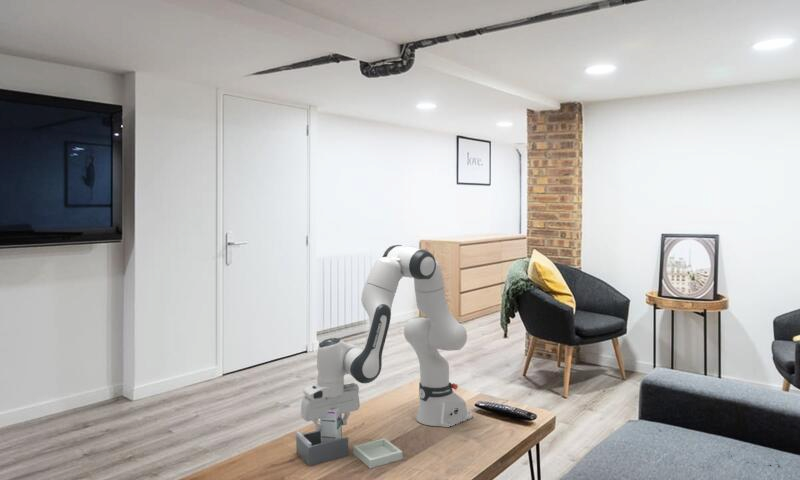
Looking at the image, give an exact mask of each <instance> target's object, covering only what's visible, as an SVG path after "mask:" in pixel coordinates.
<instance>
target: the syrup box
mask: <svg viewBox="0 0 800 480" xmlns="http://www.w3.org/2000/svg"><path fill="white" fill-rule="evenodd" d="M342 415H343V414H339V408H332V409H328V416H327V417H324V418H320V419H319V421H320V423H319V424H320V425H321V426H322V428H321V429H322V430H321V443H324V442H329V441H333V440H337V439H341V438H343V425H342V419H343V417H342Z"/></svg>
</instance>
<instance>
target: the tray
mask: <svg viewBox="0 0 800 480" xmlns="http://www.w3.org/2000/svg"><path fill="white" fill-rule="evenodd" d="M352 447H353V448H352V454H353V455H354V456H356V457H357V459H358V460H360V461H361V462H362V463H364V464H365V465H366V466H367V467H368V468H369V469H373V468H377V467H380V466H384V465H387V464H391V463H395V462H398V461H402V460H403V451H402V450H401V449H400V448H398V447H397V446H396V445H394V444H393V443H391V442H390V441H389V440H388V439H386V438H380V439H376V440H372V441H368V442H364V443H360V444H356V445H353V446H352Z"/></svg>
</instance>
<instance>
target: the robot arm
mask: <svg viewBox="0 0 800 480" xmlns="http://www.w3.org/2000/svg"><path fill="white" fill-rule="evenodd" d="M442 272H443V271H442V269H441V266H440V263H439V261H438V260H437V259H435V256H434V254H433V253H431V252H429V251H428V250H426V249H423V248H422V249H421V248H418V247H415V246H407V245H402V244H397V245H391V246H389V247H388V248H387V249H386V250H385V251H384V252H383V255H382V256H381V257H380V258H379V257H378V259H377V260H376V261H375V262H374V264H373V266H372V268H371V269H370V272H369V274H368V276H367V279H366V281H365V283H364V286H363V287H362V288H363V289H362V292H361V301H360V302H361V304H362V306H363V308H364V310H365V312H366V313H367V315H368V318H369V328H368V331H367V335H366V339H365V342H364V346H363V347H362V346H359V345H357V344H352V343H348V342H345V341H344V340H342V339H340V338H338V337H331V338H327V339H324V340H323V341H321V342H320V343H319V344H318V347H317V351H316V353H317V354H316V368H317V372H318V373H317V378H316V379H317V380H316V381H315V382H313V383H312V384H310V385H308V386H306V387H304V388H303V389H302V391H303V395H304V396H303V398H302V399H301V407H300V415H301V418H302V419H303V421H305V422H310V421H312V423H313V424H314V425H315V426H314V427H315V429H314V430H315V431H317V432H318V431H321V430H322V429H321V428H322V426H321V425H320V423H319V420H320V418H324V417H327V416H328V409H332V408H339V414H341V415H343V414H344V415H343V417H342V426H347V425H348V419H349V417H350V415H351V412H355V411H358V410H359V409H360V405H361V404H360V402H361V401H360V396H359V393H360V387H359V385H358V384H357V383H355V382H352V383H345V375H349V376H351V377H352V378H354V379H355V380H356V381H357V382H358V383H361V384H370V383H372V382H373V381H375V380H377V378H378V377H379V375H380V374H381V372H382V371H381V370H382V364H383V363H382V360H383V359H382V358H383V357H382V356H383V350H384V346H385V343H386V339H387V336H388V331H389V329H390V325H391V324H390V323H391V318H392V306H393V302H394V298H395V296H396V293H397V290H398V287H399V283H400V281H401V279H403V277H404V278H409V279H410V278H411V279H413V282H414V283H413V284H414V285H413V286H414V294H415V301H416V307H417V309H418V311H419V312H421V314H423V315H424V316H426V318H425V317H415V318H414V317H413V318H410V319H408V321H407V322H406V323H405V325H404V329H403V335H404V339H405V340H406V342H407V343H408V344H409V345H410V346H411V347H412V348H413V350H414V351H415V353H416V356H417V359H418V362H419V372H420V373H419V374H420V375H419V378H420V379H419V383H418V384H419V388H418V392H419V402H418V403H419V404H418V409H417V413H416V416H415V419H416V421H417V422H419V423H420V424H422V425H426V426H431V427H442V428H450V426H451V427H452V426H455V424H456V425H459V424H460V422H461V423H463V422H465V421H468V420H470V419H473V418H472V417H474V416H473V412H472V411H470V410H469V409H468V406H467V404H466V401H465V400H464V398H463V397H462V396H460V395H458V394H457V393H456V392H454V391H453V390H455V391H456V390H458V388H459V385H458V384H456V383H451V382H450V366H449V365H450V364H449V362H448V361H447V359H446V358H445V357H443V356H442V355H441V354H440V352H439V351H438V350H442V351H451V352H452V351H453V352H454V351H460V350H462V349H463V348H464V346H466V343H467V340H468V333H467V329H466V328H465V326H464V325H463V324H461V323H460V322H459V321H458V320H457V319H456V317H455V316H453V314H452V312H451V310H450V308H449V306H448V304H447V303H448V302H447V297H446V291H445V283H444V277H443V273H442ZM467 419H468V420H467ZM462 421H463V422H462Z"/></svg>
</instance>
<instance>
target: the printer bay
mask: <svg viewBox="0 0 800 480" xmlns="http://www.w3.org/2000/svg"><path fill="white" fill-rule="evenodd" d="M295 435H296V436H295V437H296V438H295V439H296V441H295V442H296V445H295V446H296V450H295V451H296V454H297V455H298V456H299V457H300V458H301V460H303V462H304V463H305V464H306V465H307V466H308V467H310V466H314V465H319V464H323V463H326V462H330V461H332V460H337V459H340V458H344V457H348V456H349V437H348V436H345V437H342V438H341V439H337V440H333V441H329V442H324V443H321V431H318V432H317V431H316V430H313V431H309V432H305V433H301V432H300V431H299V430H298V431H296V433H295Z"/></svg>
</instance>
